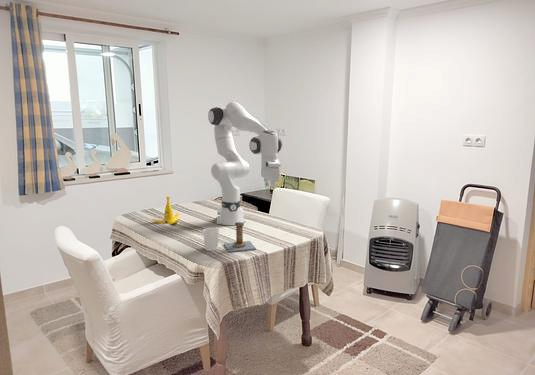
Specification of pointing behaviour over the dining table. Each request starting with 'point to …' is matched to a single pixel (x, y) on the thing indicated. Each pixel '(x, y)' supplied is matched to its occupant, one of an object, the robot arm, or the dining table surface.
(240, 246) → the brown post
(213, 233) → the white cup
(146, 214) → the dining table surface
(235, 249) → the gray book
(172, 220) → the banana peel
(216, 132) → the robot arm
